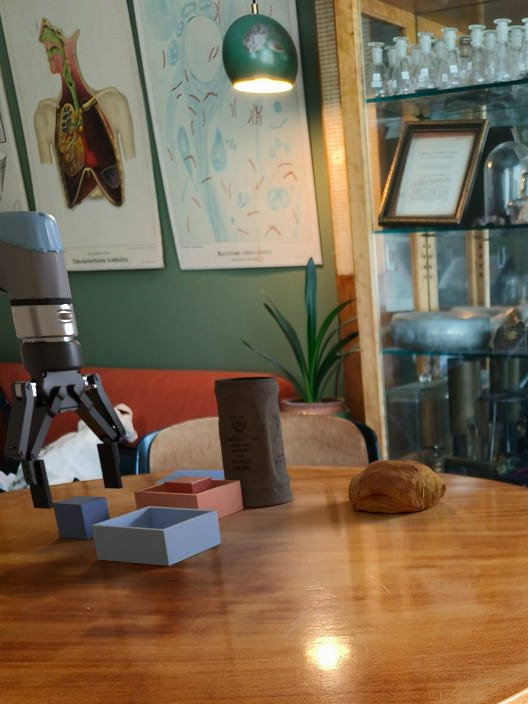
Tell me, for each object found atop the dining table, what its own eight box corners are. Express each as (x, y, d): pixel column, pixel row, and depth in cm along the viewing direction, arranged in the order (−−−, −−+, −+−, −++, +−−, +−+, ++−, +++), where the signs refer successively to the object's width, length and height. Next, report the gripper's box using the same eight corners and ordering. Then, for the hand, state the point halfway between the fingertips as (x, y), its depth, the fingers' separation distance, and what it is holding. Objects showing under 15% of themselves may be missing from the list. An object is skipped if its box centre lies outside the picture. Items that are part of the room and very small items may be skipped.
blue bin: (97, 559, 115) (90, 525, 113) (153, 538, 124) (148, 506, 123) (169, 566, 111) (163, 530, 109) (221, 543, 121) (217, 510, 119)
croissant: (373, 506, 150) (364, 458, 148) (457, 497, 144) (450, 448, 142) (332, 523, 137) (322, 472, 135) (423, 515, 131) (414, 461, 129)
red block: (168, 514, 136) (163, 481, 134) (189, 507, 140) (184, 475, 138) (196, 516, 134) (191, 483, 132) (215, 508, 138) (211, 477, 136)
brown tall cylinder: (285, 507, 140) (273, 376, 134) (217, 509, 140) (202, 378, 134) (303, 494, 155) (293, 375, 149) (242, 495, 155) (229, 377, 149)
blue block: (59, 537, 126) (52, 502, 124) (84, 528, 130) (78, 495, 129) (87, 539, 124) (80, 504, 123) (112, 531, 129) (106, 497, 127)
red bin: (138, 521, 134) (133, 491, 132) (184, 505, 144) (180, 477, 142) (200, 526, 130) (196, 495, 129) (243, 509, 140) (240, 480, 139)
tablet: (278, 474, 167) (277, 467, 167) (261, 488, 156) (260, 480, 155) (178, 476, 168) (177, 469, 168) (153, 489, 156) (152, 482, 156)
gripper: (-6, 344, 106) (33, 518, 113) (135, 335, 127) (159, 481, 135) (-53, 345, 108) (-12, 516, 116) (93, 336, 130) (119, 480, 137)
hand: (80, 497), depth 125 cm, fingers open, 13 cm apart
